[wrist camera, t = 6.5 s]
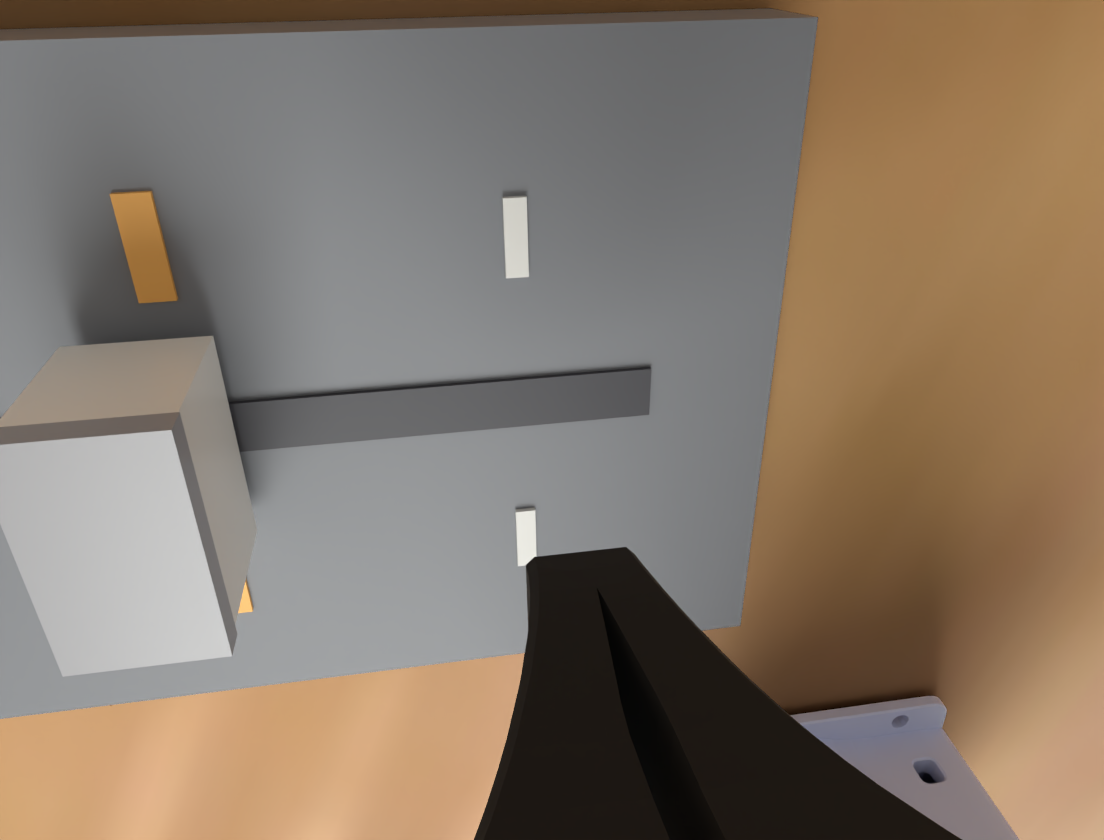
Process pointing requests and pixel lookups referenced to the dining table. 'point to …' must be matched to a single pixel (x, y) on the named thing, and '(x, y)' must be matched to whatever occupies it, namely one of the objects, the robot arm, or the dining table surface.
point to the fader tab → (128, 504)
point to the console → (418, 304)
